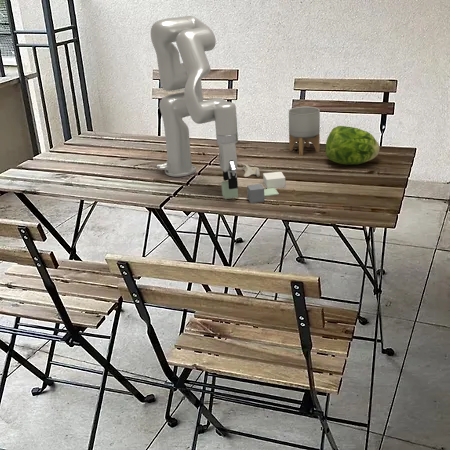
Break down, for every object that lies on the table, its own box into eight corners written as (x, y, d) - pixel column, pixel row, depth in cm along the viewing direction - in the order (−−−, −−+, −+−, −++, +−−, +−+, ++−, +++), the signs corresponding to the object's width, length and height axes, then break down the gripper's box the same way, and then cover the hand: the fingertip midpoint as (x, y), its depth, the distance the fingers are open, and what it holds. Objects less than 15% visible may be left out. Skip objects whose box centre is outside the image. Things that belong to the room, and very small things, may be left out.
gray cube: (250, 203, 221) (250, 190, 219) (247, 198, 226) (247, 185, 224) (264, 201, 222) (264, 188, 220) (261, 196, 227) (260, 183, 225)
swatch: (262, 196, 226) (262, 195, 226) (258, 190, 232) (258, 189, 231) (278, 194, 227) (278, 193, 227) (274, 188, 232) (274, 187, 232)
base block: (266, 189, 233) (266, 179, 231) (263, 183, 239) (263, 173, 238) (285, 187, 234) (285, 177, 232) (281, 181, 240) (281, 171, 238)
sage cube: (224, 199, 226) (223, 186, 224) (222, 194, 231) (221, 181, 229) (238, 197, 227) (237, 184, 225) (235, 192, 232) (234, 179, 230)
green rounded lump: (377, 176, 246) (390, 138, 242) (326, 162, 244) (338, 124, 240) (366, 168, 262) (378, 132, 258) (318, 155, 259) (330, 119, 255)
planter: (285, 154, 268) (285, 113, 260) (293, 145, 279) (293, 106, 271) (315, 156, 264) (315, 114, 256) (322, 147, 274) (322, 106, 267)
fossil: (244, 179, 245) (243, 170, 243) (241, 169, 255) (240, 161, 253) (261, 177, 245) (261, 169, 244) (258, 168, 255) (257, 160, 253)
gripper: (212, 133, 227) (216, 178, 234) (221, 145, 211) (225, 193, 218) (232, 130, 228) (235, 175, 235) (243, 143, 212) (246, 190, 219)
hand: (230, 184), depth 227 cm, fingers open, 9 cm apart
